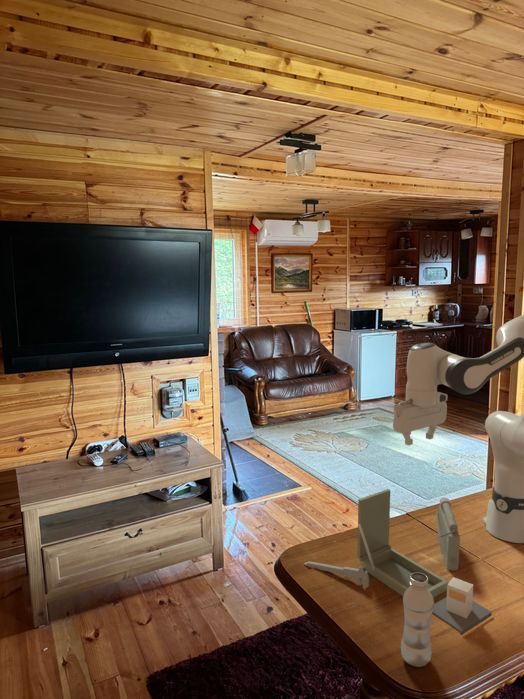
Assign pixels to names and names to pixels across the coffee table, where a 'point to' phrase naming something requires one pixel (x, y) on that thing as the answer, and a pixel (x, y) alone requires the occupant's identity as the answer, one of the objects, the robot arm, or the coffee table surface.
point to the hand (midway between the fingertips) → (419, 441)
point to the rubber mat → (457, 621)
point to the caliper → (343, 571)
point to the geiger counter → (448, 535)
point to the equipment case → (387, 548)
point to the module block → (459, 597)
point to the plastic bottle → (417, 621)
